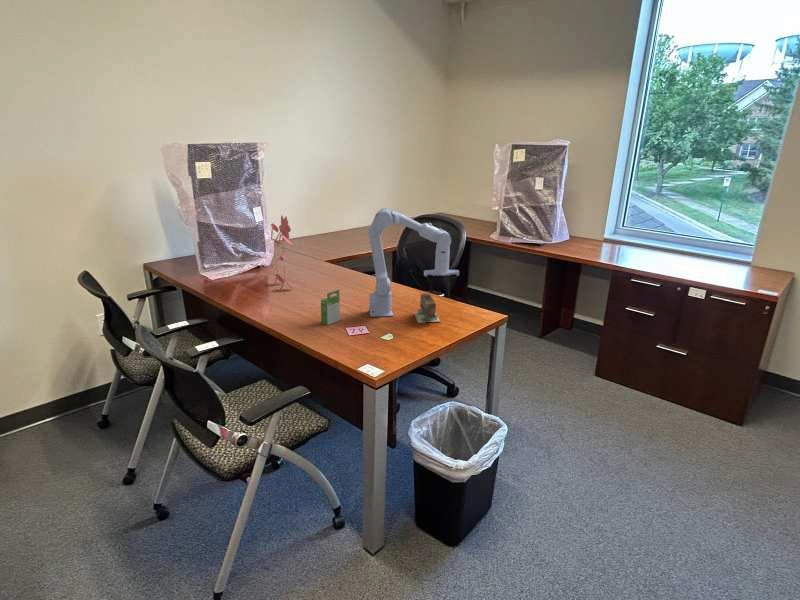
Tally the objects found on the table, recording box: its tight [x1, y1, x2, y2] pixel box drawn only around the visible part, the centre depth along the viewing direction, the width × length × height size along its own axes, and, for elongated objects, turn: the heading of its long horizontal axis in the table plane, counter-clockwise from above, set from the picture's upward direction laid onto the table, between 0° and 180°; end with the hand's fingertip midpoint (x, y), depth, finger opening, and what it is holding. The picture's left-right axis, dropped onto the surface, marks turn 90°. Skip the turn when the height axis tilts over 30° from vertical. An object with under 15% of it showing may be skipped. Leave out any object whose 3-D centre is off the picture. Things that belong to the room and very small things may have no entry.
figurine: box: [270, 215, 305, 295], centre depth 230 cm, size 15×26×35 cm, turn 33°
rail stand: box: [414, 308, 441, 324], centre depth 200 cm, size 9×10×3 cm
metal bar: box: [419, 292, 437, 318], centre depth 198 cm, size 4×13×6 cm, turn 8°
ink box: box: [320, 289, 341, 326], centre depth 192 cm, size 7×4×13 cm, turn 141°
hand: (440, 292), depth 201 cm, fingers open, 7 cm apart
